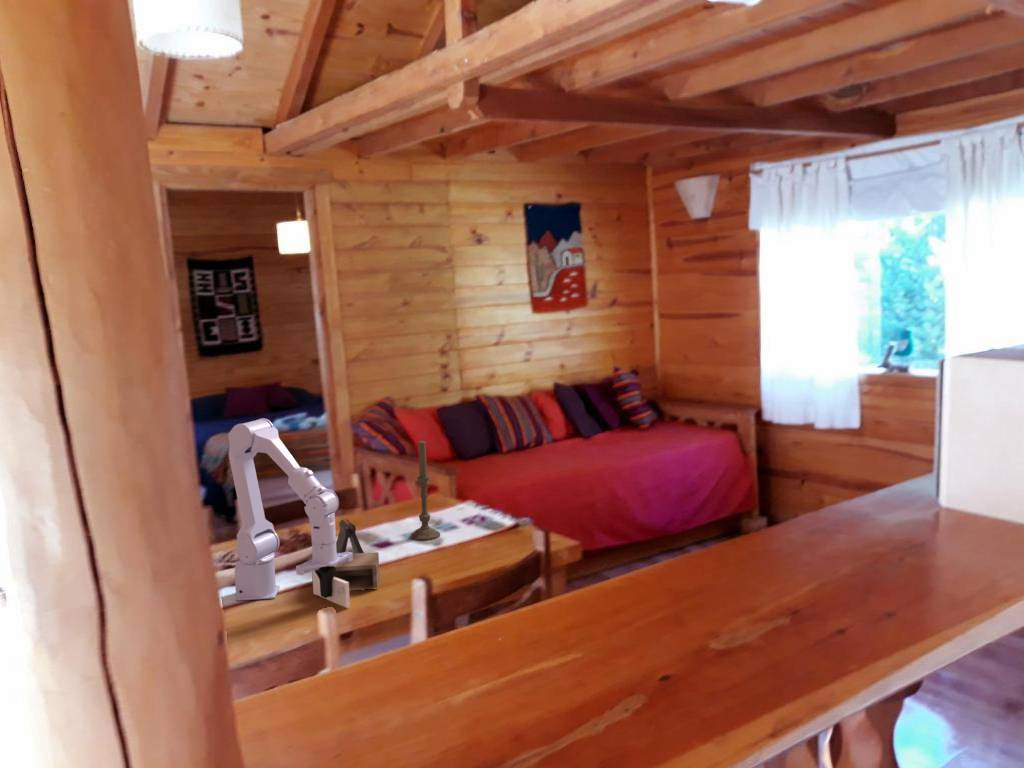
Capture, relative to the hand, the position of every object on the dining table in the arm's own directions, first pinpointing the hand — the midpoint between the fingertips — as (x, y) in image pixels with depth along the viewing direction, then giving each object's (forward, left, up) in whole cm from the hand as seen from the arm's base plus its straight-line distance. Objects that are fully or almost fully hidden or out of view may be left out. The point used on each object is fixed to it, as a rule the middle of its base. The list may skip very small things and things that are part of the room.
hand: (326, 596), depth 204 cm
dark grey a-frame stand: (+3, +29, -2) cm, 29 cm away
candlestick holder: (+24, +51, -2) cm, 56 cm away
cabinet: (+4, +13, -2) cm, 13 cm away
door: (0, +1, -1) cm, 2 cm away
